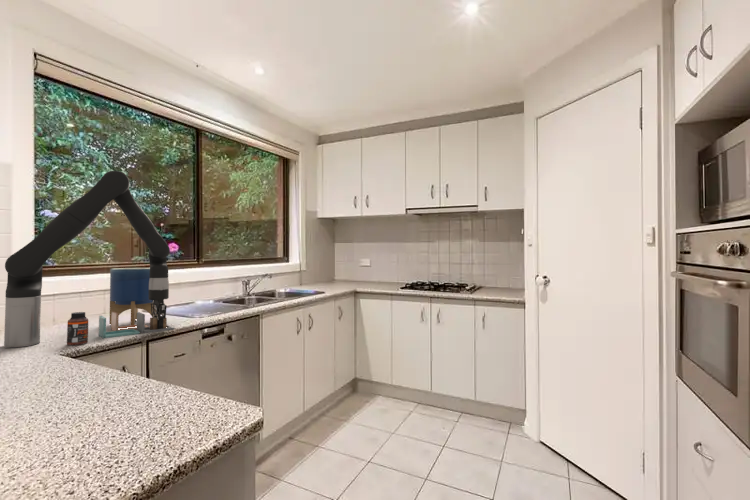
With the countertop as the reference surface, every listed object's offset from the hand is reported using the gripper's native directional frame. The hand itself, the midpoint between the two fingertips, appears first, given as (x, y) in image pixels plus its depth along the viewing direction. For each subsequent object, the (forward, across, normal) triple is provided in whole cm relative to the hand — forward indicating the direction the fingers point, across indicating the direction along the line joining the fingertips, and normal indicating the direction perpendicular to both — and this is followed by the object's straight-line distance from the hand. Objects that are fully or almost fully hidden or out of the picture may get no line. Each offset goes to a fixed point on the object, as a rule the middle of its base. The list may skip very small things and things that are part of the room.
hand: (158, 327), depth 158 cm
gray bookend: (+1, 0, -1) cm, 2 cm away
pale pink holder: (+1, -10, -8) cm, 13 cm away
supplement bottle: (+1, +7, -28) cm, 29 cm away
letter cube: (+1, 0, 0) cm, 1 cm away
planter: (+1, -26, -3) cm, 26 cm away
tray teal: (+1, 0, -14) cm, 14 cm away
